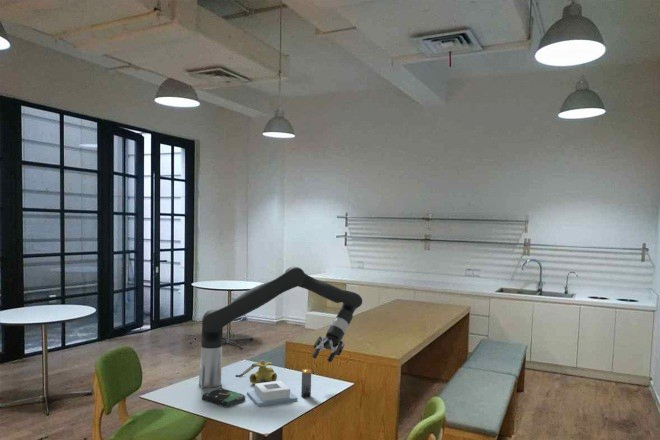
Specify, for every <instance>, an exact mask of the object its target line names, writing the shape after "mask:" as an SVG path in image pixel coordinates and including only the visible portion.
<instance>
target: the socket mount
mask: <svg viewBox="0 0 660 440" xmlns="http://www.w3.org/2000/svg"><path fill="white" fill-rule="evenodd" d="M253 388H254V390H250V391H246V395H247V396H248V398H249V399H250V400H251V401H252V402H253V403H254V404H255V405H256V406H257V407H264V406H265V407H266V406H271V405H278V404H285V403H291V402H298V397H297V396H296V395H295V394H294V393H292V392H291V389H290V387H288V386H287V385H286V384H285V383H284V382H283V381H281V380H276V381H273V382H267V381H264V382H258V383H256V384H254V387H253Z"/></svg>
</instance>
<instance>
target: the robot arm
mask: <svg viewBox="0 0 660 440" xmlns="http://www.w3.org/2000/svg"><path fill="white" fill-rule="evenodd" d="M297 287H299V288H302V289H306V290H308V291H310V292H312V293H314V294H316V295H318V296H320V297H322V298H324V299H326V300H327V301H331V302H332V303H336V304H339V303H340V304H341V303H342V304H341V307H340V309H339V312H338V313H337V315H336V317H335V318H334V320H333V321H332V322H331V324H330V326H329V328H328V330H327V331H326V334H325V337H324V338H323V337H322V336H319V337H317V339H316V341H315V343H314V344H313V345H312V346H313V348H314V352H313V353H312V358H313V359H317V357H318V355H319V353H320V352H321V351H324V350H330V351H331V352H330V354H329V356H328V357H327V359H326V360H327V362H328V363H332V362H333V360H334V358H335V357H336V356H340V355H341V354H342V351H343V350H344V348H345V343H344V341H343V338H344V336H345V335H346V332H347V330H348V328H349V326H350V324H351V322H352V320H353V318H354V317H353V316H354V312H355V311H356V310H357V309H358V308H360V307H361V306H362V304H363V298H362V296H361V295H360V294H358V293H356V292H354V291H350V290H346V289H341V288H339V287H337V286H335V285H334V284H333V285H332V284H330V283H327V282H325V281H321V280H319V279H317V278H314V277H312V276H310V275H309V274H307V273H305V271H304V269H302V268H301V267H298V266H290V267H288V268H287V269H286V270H285V271H284V273H282V274H281V275H279V276H278V277H276V278H274V279H272V280H270V281H266V282H264V283H261V284H258V285H256V286H254V287H252V288H250V289H249V290H247V291H245V292H244V293H242V294H240V295H239V296H238V297H236V298H235V299H234V300H232V301H231V302H230V303H229V304H227V305H225V306H223V307H220V308H219V309H210V310H209V309H208V310H207V311H206V312H205V313H204V314H203V315H202V316H203V317H202V319H201V348H200V349H201V350H200V362H199V370H198V372H199V373H198V384H199V385H200V387H201V388H216V387H219V386H220V385H222V368H223V367H222V364H223V363H222V360H223V339H224V337H223V336H224V335H223V331H224V327H225V326H228V324H230V323H231V322H234V320H235V321H236V320H237V319H238V318H241V317H243V316H245V315H247V314H249V313H251V312H253V311H255V310H257V309H259V308H260V307H262V306H264V305H266V304H268V303H269V302H270V301H272V300H273V299H275V298H276V297H277V298H278V296H279V295H281V294H283V293H286V292H287V291H290V290H292V289H295V288H297Z"/></svg>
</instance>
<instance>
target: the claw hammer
mask: <svg viewBox="0 0 660 440" xmlns="http://www.w3.org/2000/svg"><path fill="white" fill-rule="evenodd" d="M253 364H254V363H252V364H251V365H250V366H249V367H248V368H247V369H245V370H244V371H243V372H242V373H240V374H235V377H236V378H242V377H244V376H245V375H246V374H247V373H248V372H249V371H251V370H252V369H254V368H255V366H254V365H253ZM250 369H251V370H250ZM246 372H247V373H246ZM243 375H244V376H243Z"/></svg>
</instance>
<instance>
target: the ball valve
mask: <svg viewBox="0 0 660 440" xmlns="http://www.w3.org/2000/svg"><path fill="white" fill-rule="evenodd" d="M252 364H253V365H254V367H258V369H257V371H256V372H254V373H251V374H250V376H249V377H248V378H249V381H250V383H251V384H253V385H255V384H257V383H264V382H273V381H277V379H278V378H277V377H278V375H277V373H276V372H275V371H274V369H273V368H272V367H268V366H273V362H271V361H266V360H265V359H261V360H260V361H258V362H254V363H252Z"/></svg>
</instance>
